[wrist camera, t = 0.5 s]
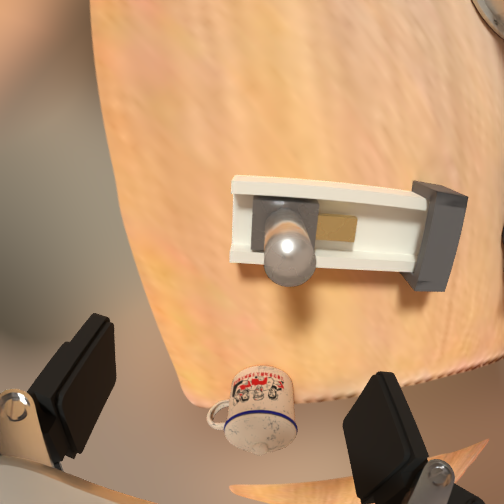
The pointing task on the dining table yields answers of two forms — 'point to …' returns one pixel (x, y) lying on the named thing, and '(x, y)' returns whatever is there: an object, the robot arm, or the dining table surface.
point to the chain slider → (294, 235)
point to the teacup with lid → (258, 411)
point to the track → (366, 226)
